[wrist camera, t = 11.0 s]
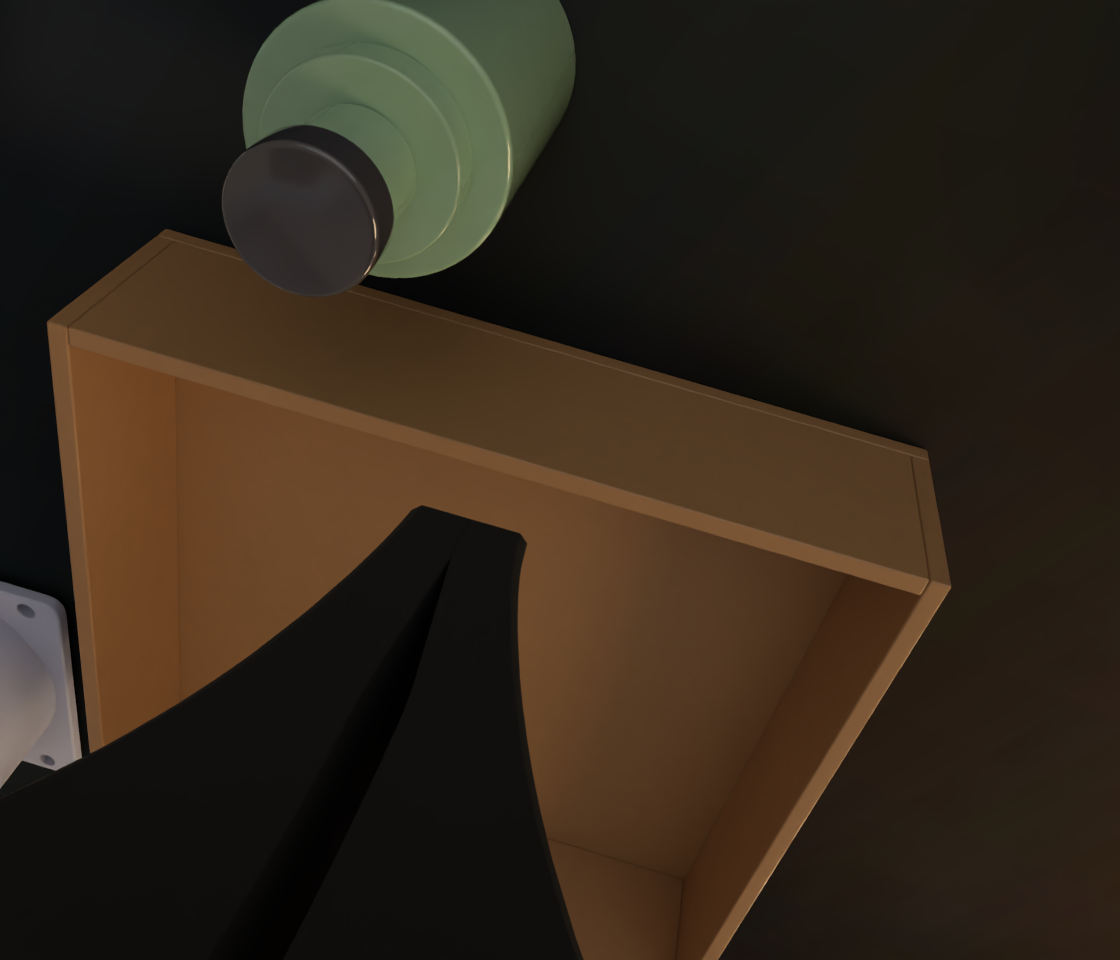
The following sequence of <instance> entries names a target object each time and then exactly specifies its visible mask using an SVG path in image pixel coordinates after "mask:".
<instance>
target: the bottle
mask: <svg viewBox="0 0 1120 960" xmlns="http://www.w3.org/2000/svg"><path fill="white" fill-rule="evenodd" d="M575 63H576V59H575V48H574V41H573V37H572V32H571V28H570V25H569V22H568V19H567V16H566V14H565V11H564V9H563V7H562V5H561V3H560V1H559V0H316V1H314V2H312V3H310V4H308V5H307V6H305V7H303V8H301V9H300V10H298V11H297V12H295V13H293V14H292V15H290V16H289V17H287V18H286V19H285V20H284V21H283V22H282V23H280V24H279V25H278V26H277V27H276V28H275V29H274V30H273V31H272V32H271V34H270V35H269V36H268V37H267V39H266V40H265V41H264V42H263V44H262V46H261V48H260V49H259V51H258V53H257V55H256V56H255V58H254V61H253V63H252V66H251V68H250V71H249V74H248V78H247V82H246V86H245V91H244V100H243V131H244V138H245V144H246V150H245V151H244V152H243V153H241V154H240V155H239V156H238V157H237V159H236V160H235V161H234V162H233V164H232V165H231V167H230V169H229V170H228V173H227V175H226V178H225V181H224V185H223V191H222V213H223V219H224V223H225V226H226V230H227V232H228V235H229V237H230V239H231V242H232V243H233V245H234V247H235V249H236V250H237V252H238V253H239V255H240V256H241V257H242V259H243V260H244V261H245V262H246V263H247V265H248V266H249V267H250V268H251V269H252V270H253V271H254V272H255V273H256V274H258V275H259V276H260V277H261V278H263V279H264V280H265V281H267V282H268V283H270V284H272V285H273V286H275V287H277V288H279V289H281V290H283V291H286V292H289V293H291V294H294V295H299V296H303V297H311V298H323V297H330V296H335V295H339V294H342V293H345V292H347V291H349V290H351V289H352V288H354V287H355V286H357V285H358V284H359V283H361V282H362V281H363V280H364V279H365V278H366V276H367V275H368V274H369V275H374V276H378V277H388V278H412V277H418V276H425V275H429V274H433V273H436V272H439V271H442V270H445V269H447V268H449V267H451V266H453V265H455V264H457V263H459V262H460V261H462V260H463V259H465V258H466V257H468V256H469V255H471V254H472V253H473V252H474V251H475V250H476V249H477V248H478V247H479V246H481V245H482V243H483V242H484V241H485V240H486V239H487V237H488V236H489V235H490V234H491V233H492V231H493V229H494V228H495V226H496V224H497V223H498V221H499V220H500V218H501V216H502V215H503V213H504V212H505V210H506V208H507V207H508V205H509V204H510V202H511V200H512V199H513V197H514V195H515V194H516V192H517V191H518V189H519V187H520V186H521V184H522V183H523V181H524V179H525V178H526V176H527V174H528V173H529V171H530V170H531V168H532V166H533V165H534V163H535V162H536V160H537V158H538V157H539V155H540V153H541V152H542V150H543V149H544V147H545V145H546V144H547V142H548V141H549V139H550V137H551V136H552V134H553V132H554V131H555V129H556V128H557V126H558V124H559V123H560V121H561V119H562V118H563V116H564V114H565V111H566V109H567V107H568V104H569V101H570V98H571V94H572V91H573V86H574V79H575Z"/></svg>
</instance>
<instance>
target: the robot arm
mask: <svg viewBox="0 0 1120 960" xmlns="http://www.w3.org/2000/svg"><path fill="white" fill-rule="evenodd" d="M526 547H527V542H526V541H525V539H524V538H523V536H522V535H521V533H517V532H514V531H511V530H507V529H504V528H500V527H497V526H493V525H490V524H486V523H483V522H479V521H476V520H472V519H469V518H465V517H462V516H458V515H455V514H451V513H448V512H445V511H441V510H438V509H434V508H431V507H427V506H424V505H421V506H419V507H417V508H414V509H412V510H411V511H410V512H409V513H408V515H407V516H406V517H405V518H404V519H403V520H402V522H401V523H400V524H399V525H398V526H397V527H396V528H395V529H394V530H393V531H392V532H391V533H390V534H389V536H388V537H387V538H386V539H385V540H384V541H383V542H382V543H381V544H380V545H379V546H378V547H377V548H376V549H375V550H374V551H373V552H372V553H371V554H370V555H369V556H367V557H366V558H365V559H364V560H363V561H362V562H361V563H360V564H359V565H358V566H357V567H356V568H355V569H354V570H353V571H352V572H351V573H350V574H348V575H347V576H346V577H345V578H344V579H343V580H342V581H340V582H339V583H338V584H337V585H336V586H335V587H334V588H332V589H331V590H330V591H329V592H328V593H327V594H326V595H325V596H323V597H322V598H321V599H320V600H319V601H318V602H317V603H315V604H314V605H313V606H312V607H311V608H310V609H308V610H307V611H306V612H305V613H304V614H302V615H301V616H300V617H299V618H297V619H296V620H295V621H293V622H292V623H291V624H290V625H288V626H287V627H286V628H284V629H283V630H282V631H280V632H279V633H278V634H277V635H275V636H274V637H273V638H271V639H270V640H269V641H268V642H266V643H265V644H264V645H262V646H261V647H260V648H259V649H257V650H256V651H255V652H253V653H252V654H251V655H249V656H248V657H246V658H245V659H244V660H242V661H241V662H239V663H238V664H237V665H235V666H234V667H232V668H231V669H230V670H228V671H227V672H225V673H224V674H222V675H221V676H219V677H218V678H216V679H215V680H214V681H212V682H210V683H209V684H207V685H206V686H204V687H203V688H201V689H200V690H198V691H197V692H195V693H194V694H192V695H190V696H189V697H187V698H186V699H184V700H183V701H181V702H179V703H178V704H176V705H175V706H173V707H171V708H170V709H168V710H166V711H164V712H163V713H161V714H159V715H158V716H156V717H154V718H153V719H151V720H149V721H147V722H146V723H144V724H142V725H141V726H139V727H137V728H136V729H134V730H132V731H130V732H129V733H127V734H125V735H123V736H122V737H120V738H118V739H116V740H114V741H113V742H111V743H109V744H107V745H105V746H103V747H102V748H100V749H98V750H96V751H94V752H92V753H90V754H88V755H86V756H84V757H82V754H81V745H80V736H79V727H78V718H77V708H76V699H75V690H74V681H73V672H72V662H71V653H70V644H69V635H68V625H67V616H66V611H65V608H64V606H63V605H62V604H61V602H60V601H58V600H57V599H56V598H54V597H51V596H49V595H45V594H42V593H39V592H35V591H32V590H29V589H25V588H22V587H19V586H15V585H12V584H9V583H5V582H2V581H0V788H1V787H2V786H3V784H4V783H5V782H6V780H7V779H8V778H9V777H10V775H11V774H12V773H13V771H14V770H15V769H16V767H17V766H18V765H19V763H20V762H21V761H22V760H23V761H26V762H29V763H33V764H36V765H39V766H42V767H46V768H49V769H52V770H56V771H54V772H52V773H49V774H47V775H45V776H43V777H41V778H39V779H37V780H35V781H33V782H31V783H29V784H27V785H25V786H23V787H21V788H19V789H17V790H15V791H13V792H11V793H9V794H6V795H4V796H2V797H0V960H584V959H583V956H582V954H581V951H580V948H579V945H578V942H577V940H576V937H575V933H574V930H573V927H572V923H571V920H570V917H569V913H568V910H567V907H566V903H565V900H564V897H563V893H562V890H561V887H560V883H559V880H558V877H557V873H556V870H555V867H554V863H553V860H552V856H551V852H550V848H549V844H548V840H547V836H546V832H545V828H544V823H543V819H542V815H541V811H540V806H539V801H538V796H537V791H536V787H535V782H534V777H533V771H532V765H531V760H530V754H529V747H528V741H527V734H526V726H525V718H524V711H523V703H522V692H521V682H520V666H519V648H518V594H519V582H520V573H521V567H522V563H523V559H524V555H525V551H526Z"/></svg>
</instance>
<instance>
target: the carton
mask: <svg viewBox="0 0 1120 960" xmlns="http://www.w3.org/2000/svg"><path fill="white" fill-rule="evenodd" d="M47 330H48V340H49V350H50V360H51V370H52V380H53V390H54V400H55V409H56V419H57V429H58V439H59V449H60V459H61V469H62V479H63V489H64V499H65V509H66V519H67V529H68V539H69V549H70V559H71V569H72V579H73V589H74V599H75V609H76V619H77V629H78V639H79V649H80V659H81V669H82V679H83V689H84V699H85V709H86V719H87V728H88V738H89V748H90V753H92V752H94V751H96V750H98V749H100V748H102V747H103V746H105V745H107V744H109V743H111V742H113V741H114V740H116V739H118V738H120V737H122V736H123V735H125V734H127V733H129V732H130V731H132V730H134V729H136V728H137V727H139V726H141V725H142V724H144V723H146V722H147V721H149V720H151V719H153V718H154V717H156V716H158V715H159V714H161V713H163V712H164V711H166V710H168V709H170V708H171V707H173V706H175V705H176V704H178V703H179V702H181V701H183V700H184V699H186V698H187V697H189V696H190V695H192V694H194V693H195V692H197V691H198V690H200V689H201V688H203V687H204V686H206V685H207V684H209V683H210V682H212V681H214V680H215V679H216V678H218V677H219V676H221V675H222V674H224V673H225V672H227V671H228V670H230V669H231V668H232V667H234V666H235V665H237V664H238V663H239V662H241V661H242V660H244V659H245V658H246V657H248V656H249V655H251V654H252V653H253V652H255V651H256V650H257V649H259V648H260V647H261V646H262V645H264V644H265V643H266V642H268V641H269V640H270V639H271V638H273V637H274V636H275V635H277V634H278V633H279V632H280V631H282V630H283V629H284V628H286V627H287V626H288V625H290V624H291V623H292V622H293V621H295V620H296V619H297V618H299V617H300V616H301V615H302V614H304V613H305V612H306V611H307V610H308V609H310V608H311V607H312V606H313V605H314V604H315V603H317V602H318V601H319V600H320V599H321V598H322V597H323V596H325V595H326V594H327V593H328V592H329V591H330V590H331V589H332V588H334V587H335V586H336V585H337V584H338V583H339V582H340V581H342V580H343V579H344V578H345V577H346V576H347V575H348V574H350V573H351V572H352V571H353V570H354V569H355V568H356V567H357V566H358V565H359V564H360V563H361V562H362V561H363V560H364V559H365V558H366V557H367V556H369V555H370V554H371V553H372V552H373V551H374V550H375V549H376V548H377V547H378V546H379V545H380V544H381V543H382V542H383V541H384V540H385V539H386V538H387V537H388V536H389V534H390V533H391V532H392V531H393V530H394V529H395V528H396V527H397V526H398V525H399V524H400V523H401V522H402V520H403V519H404V518H405V517H406V516H407V515H408V513H409V512H410V511H411V510H412V509H414V508H417V507H419V506H421V505H424V506H427V507H431V508H434V509H438V510H441V511H445V512H448V513H451V514H455V515H458V516H462V517H465V518H469V519H472V520H476V521H479V522H483V523H486V524H490V525H493V526H497V527H500V528H504V529H507V530H511V531H514V532H517V533H521V535H522V536H523V538H524V539H525V541H526V542H527V547H526V551H525V555H524V559H523V563H522V567H521V573H520V582H519V594H518V648H519V666H520V682H521V692H522V703H523V711H524V718H525V726H526V734H527V741H528V747H529V754H530V760H531V765H532V771H533V777H534V782H535V787H536V791H537V796H538V801H539V806H540V811H541V815H542V819H543V823H544V828H545V832H546V836H547V840H548V844H549V848H550V852H551V856H552V860H553V863H554V867H555V870H556V873H557V877H558V880H559V883H560V887H561V890H562V893H563V897H564V900H565V903H566V907H567V910H568V913H569V917H570V920H571V923H572V927H573V930H574V933H575V937H576V940H577V942H578V945H579V948H580V951H581V954H582V956H583V959H584V960H718V959H719V957H720V956H721V954H722V952H723V951H724V949H725V948H726V946H727V944H728V943H729V941H730V940H731V938H732V936H733V935H734V933H735V932H736V930H737V928H738V927H739V925H740V924H741V922H742V921H743V919H744V917H745V916H746V914H747V913H748V911H749V909H750V908H751V906H752V905H753V903H754V901H755V900H756V898H757V897H758V895H759V893H760V892H761V890H762V889H763V887H764V885H765V884H766V882H767V881H768V879H769V877H770V876H771V874H772V873H773V871H774V869H775V868H776V866H777V865H778V863H779V861H780V860H781V858H782V857H783V855H784V853H785V852H786V850H787V849H788V847H789V845H790V844H791V842H792V841H793V839H794V837H795V836H796V834H797V833H798V831H799V829H800V828H801V826H802V825H803V823H804V821H805V820H806V818H807V817H808V815H809V813H810V812H811V810H812V809H813V807H814V806H815V804H816V802H817V801H818V799H819V798H820V796H821V794H822V793H823V791H824V790H825V788H826V786H827V785H828V783H829V782H830V780H831V778H832V777H833V775H834V774H835V772H836V770H837V769H838V767H839V766H840V764H841V762H842V761H843V759H844V758H845V756H846V754H847V753H848V751H849V750H850V748H851V746H852V745H853V743H854V742H855V740H856V738H857V737H858V735H859V734H860V732H861V730H862V729H863V727H864V726H865V724H866V722H867V721H868V719H869V718H870V716H871V714H872V713H873V711H874V710H875V708H876V706H877V705H878V703H879V702H880V700H881V699H882V697H883V695H884V694H885V692H886V691H887V689H888V687H889V686H890V684H891V683H892V681H893V679H894V678H895V676H896V675H897V673H898V671H899V670H900V668H901V667H902V665H903V663H904V662H905V660H906V659H907V657H908V655H909V654H910V652H911V651H912V649H913V647H914V646H915V644H916V643H917V641H918V639H919V638H920V636H921V635H922V633H923V631H924V630H925V628H926V627H927V625H928V623H929V622H930V620H931V619H932V617H933V615H934V614H935V612H936V611H937V609H938V607H939V606H940V604H941V603H942V601H943V599H944V598H945V596H946V595H947V593H948V592H949V590H950V588H951V583H950V577H949V572H948V566H947V560H946V555H945V549H944V544H943V538H942V532H941V527H940V521H939V516H938V510H937V504H936V499H935V493H934V487H933V482H932V476H931V471H930V465H929V461H928V454H927V451H926V450H925V449H921V448H918V447H914V446H911V445H907V444H904V443H900V442H897V441H894V440H890V439H887V438H883V437H880V436H876V435H873V434H870V433H866V432H863V431H859V430H856V429H852V428H849V427H846V426H842V425H839V424H835V423H832V422H828V421H825V420H821V419H818V418H815V417H811V416H808V415H804V414H801V413H797V412H794V411H791V410H787V409H784V408H780V407H777V406H773V405H770V404H766V403H763V402H760V401H756V400H753V399H749V398H746V397H742V396H739V395H736V394H732V393H729V392H725V391H722V390H718V389H715V388H711V387H708V386H705V385H701V384H698V383H694V382H691V381H687V380H684V379H681V378H677V377H674V376H670V375H667V374H663V373H660V372H656V371H653V370H650V369H646V368H643V367H639V366H636V365H632V364H629V363H626V362H622V361H619V360H615V359H612V358H608V357H605V356H601V355H598V354H595V353H591V352H588V351H584V350H581V349H577V348H574V347H571V346H567V345H564V344H560V343H557V342H553V341H550V340H547V339H543V338H540V337H536V336H533V335H529V334H526V333H522V332H519V331H516V330H512V329H509V328H505V327H502V326H498V325H495V324H492V323H488V322H485V321H481V320H478V319H474V318H471V317H467V316H464V315H461V314H457V313H454V312H450V311H447V310H443V309H440V308H437V307H433V306H430V305H426V304H423V303H419V302H416V301H412V300H409V299H406V298H402V297H399V296H395V295H392V294H388V293H385V292H382V291H378V290H375V289H371V288H368V287H364V286H361V285H357V286H355V287H354V288H352V289H351V290H349V291H347V292H345V293H342V294H339V295H335V296H330V297H323V298H311V297H303V296H299V295H294V294H291V293H289V292H286V291H283V290H281V289H279V288H277V287H275V286H273V285H272V284H270V283H268V282H267V281H265V280H264V279H263V278H261V277H260V276H259V275H258V274H256V273H255V272H254V271H253V270H252V269H251V268H250V267H249V266H248V265H247V263H246V262H245V261H244V260H243V259H242V257H241V256H240V255H239V253H238V252H237V250H236V249H234V248H230V247H227V246H223V245H220V244H217V243H213V242H210V241H206V240H203V239H199V238H196V237H193V236H189V235H186V234H182V233H179V232H175V231H172V230H168V229H165V230H164V231H162V232H161V233H160V234H159V235H158V236H157V237H155V238H153V239H152V240H151V241H150V242H148V243H147V244H146V245H144V246H143V247H142V248H141V249H139V250H138V251H137V252H135V253H134V254H133V255H132V256H130V257H129V258H128V259H126V260H125V261H124V262H123V263H121V264H120V265H119V266H117V267H116V268H115V269H114V270H112V271H111V272H110V273H108V274H107V275H106V276H105V277H103V278H102V279H101V280H99V281H98V282H97V283H96V284H94V285H93V286H92V287H91V288H89V289H88V290H87V291H85V292H84V293H83V294H82V295H80V296H79V297H78V298H76V299H75V300H74V301H73V302H71V303H70V304H69V305H67V306H66V307H65V308H64V309H62V310H61V311H60V312H58V313H57V314H56V315H55V316H53V317H52V318H51V319H49V320H48V321H47Z"/></svg>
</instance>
